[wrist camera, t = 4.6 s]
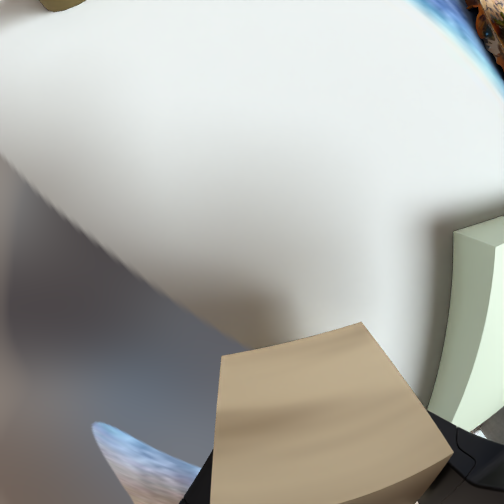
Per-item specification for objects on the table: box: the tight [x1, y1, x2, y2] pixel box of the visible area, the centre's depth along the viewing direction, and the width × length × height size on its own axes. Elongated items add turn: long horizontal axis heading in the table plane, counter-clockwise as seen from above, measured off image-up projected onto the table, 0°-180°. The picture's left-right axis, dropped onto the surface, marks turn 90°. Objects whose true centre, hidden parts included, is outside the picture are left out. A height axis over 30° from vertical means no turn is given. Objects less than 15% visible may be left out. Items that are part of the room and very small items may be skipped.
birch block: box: [210, 322, 454, 504], centre depth 7 cm, size 5×5×6 cm
